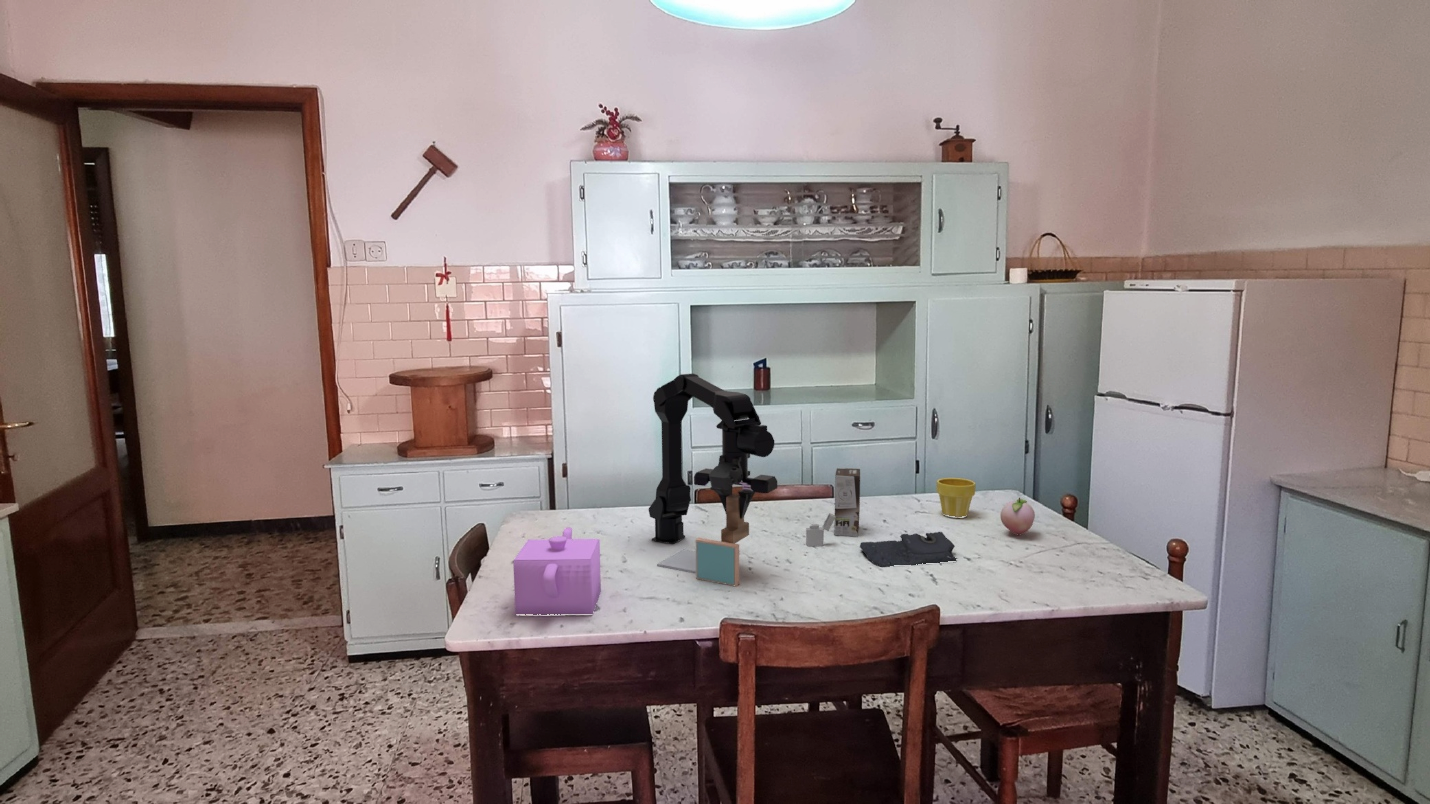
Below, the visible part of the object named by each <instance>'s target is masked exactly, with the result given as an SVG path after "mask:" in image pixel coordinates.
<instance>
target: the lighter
mask: <svg viewBox="0 0 1430 804" xmlns="http://www.w3.org/2000/svg"><path fill="white" fill-rule="evenodd" d="M835 517H836V516H835V514H833V513H831V512H829V513H828V515H827V516H826V519H825V521H824V523H823V525H822V527H821V526H820V525H819V524H818V523H816V524H815V523H813V524H811V525H809V527H806V529H805V545H806V547H824V540H825V539H824V537H825V536H824V531H827V532H829V531H830V529H831V527H832V525H833V523H834V522H835Z"/></svg>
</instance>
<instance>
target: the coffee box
mask: <svg viewBox="0 0 1430 804" xmlns="http://www.w3.org/2000/svg"><path fill="white" fill-rule="evenodd" d="M834 477H835V481H834V482H835V483H834V515H835V516H836V517H835V519H834V521H833V523H834V527H833V528H834V530H833V532H834V533H833V535H834V536H845V537H854V538H855V537H856V536H857V537H858V536H859V529H860V511H861V510H860V507H861V469H860V468H847V467H846V468H836V469H835V476H834Z"/></svg>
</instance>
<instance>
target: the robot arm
mask: <svg viewBox="0 0 1430 804" xmlns="http://www.w3.org/2000/svg"><path fill="white" fill-rule="evenodd" d="M693 398H695V399H697V400H698V401H700V402H702V403H704V404H705V405H708V406H710V407H711V408H712V410H713V414H714V415H715V416H716V417H718V419H720V422H719V423H717V424H716V426H715V427H716V429H720V430H721V444H722V445H721V446H722V447H721V448H722V450H721V453H722V454H721V455H719V458H718V465H716V466H715V467H714V468H704V469H701V470H698V471H696V472H695V473H694V476H693V485H695V486H703V487H706V486H707V485H708V484H709V483H710V487H709V489H710V490H711V491H714V492H715V493H716V494H717V496H718V497H719V500H720V501H721V504H722V506H723V509H724V512H725V513H726V497H727V496H729V495H731V494H733V486H734V485H735V486H742V487H741V488H742V489H740V490H738V491H737V495H739V496H740V519H742V518H744V519H745V515H746V512H747V510H748V509H749V508H748V507H749V505H750V503H751V501H752V499H753V497H754V496H755V494H756V493H759V494H768V493H771V492H773V491H774V490H777V489H778V479H777V477H776V476H775V475H767V474H759V475H757V476H756V477H749V476H751V470H749V469H748V465H749V464H748V463H749V459H750V458H751V455H752V456H756V457H760V458H766V457H768V456H769V455H770V454H771V453H772V452H773V450H774V447H775V440H774V436H773V434H772V433H771V432H770V431H768V425H765V424H762V421H761V419H760V416H759V414H758V413H757V411H756V408H755V407H754V404H753V402H752V400H751V397H750V396H749V395H748V394H746V393H743V392H742V393H741V392H738V391H731V390H729V391H728V390H724V389H723V388H721V387H719V386H716V385H715V384H713V383H711V382H709V381H707V380H705V379H703V378H702V377H699V375H698V374H695V373H684V374H683V373H681V374H679V375H677V376H676V377H675V378H674V379H673V380H671V381H668V382H667V383H664V384H663V385H661V387H658V388H657V389H656V390H655V391H654V393H653V397H652V399H653V406H654V407H653V408H654V412H655V414H656V415H657V417H658V418H659V420H660V422H661V423H660V424H661V465H662V466H661V468H662V469H661V471H662V472H661V473H662V477H661V480H660V482H659V483H658V484H657V485H658V486H657V487H656V491H655V499H654V501H653V502H652V503H651V504H650V506H649V507H648V514H649V517H650V518H652V519H654V530H655V531H654V534H655V535H654V537H651V541H652V542H659V543H664V544H670V545H674V544H676V543H678V542H679V541H682V540H683V539H685V538H686V535H684V521H683V516H687V514H688V511H689V507H690V502H691V501H692V498H691V486H690V485H689V484H687V483H686V482H685V481H684V479H683V454H682V453H683V451H682V450H683V447H682V444H683V443H682V438H683V437H682V421H683V419H684V417H685V416H686V413H687V412H688V408H689V401H691V400H692V399H693Z"/></svg>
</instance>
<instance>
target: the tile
mask: <svg viewBox="0 0 1430 804" xmlns="http://www.w3.org/2000/svg"><path fill="white" fill-rule="evenodd" d="M695 551H696V573H695V578H696V579H697V580H701V579H703V581H706V582H711V581H714V582H713V583H716V582H719V583H718V584H721V583H726V584H725V585H727V584H729V585H728V586H732V585H735V586H734V587H737V586H738V584H739V585H740V544H739V543H735V544H734V543H728V542H721V540H715V539H708V538H703V537H698V538H696V539H695Z"/></svg>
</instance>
